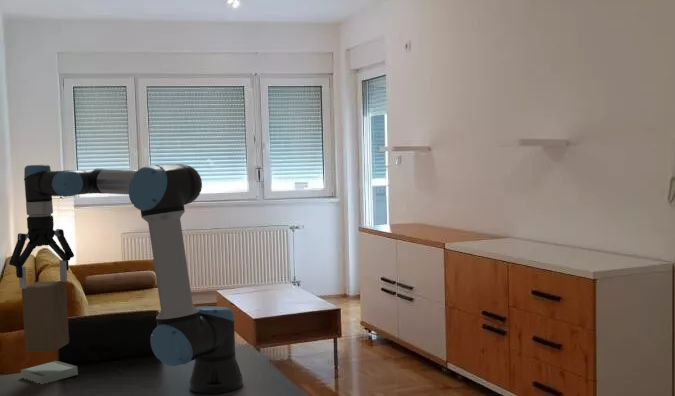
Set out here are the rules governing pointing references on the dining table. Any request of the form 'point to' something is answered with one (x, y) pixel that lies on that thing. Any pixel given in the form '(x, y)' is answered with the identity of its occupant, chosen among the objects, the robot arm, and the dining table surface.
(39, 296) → the wooden block
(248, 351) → the dining table surface
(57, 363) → the dock
